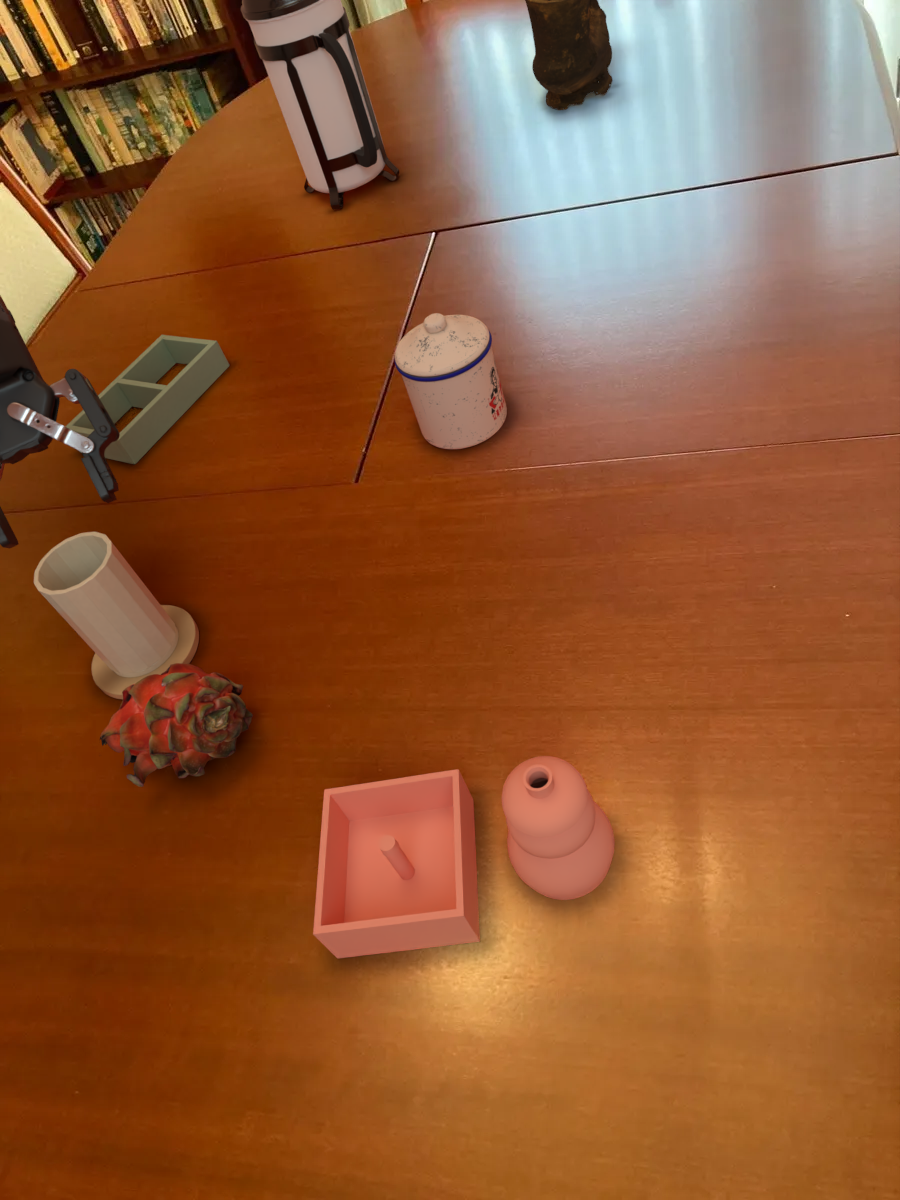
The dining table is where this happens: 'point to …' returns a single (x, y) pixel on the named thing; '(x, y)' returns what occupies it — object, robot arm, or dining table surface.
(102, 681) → the coaster
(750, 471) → the dining table surface
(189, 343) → the divided rectangular holder
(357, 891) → the pottery
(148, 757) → the dragon fruit
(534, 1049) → the dining table surface
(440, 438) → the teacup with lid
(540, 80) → the pottery vessel
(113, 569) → the cup
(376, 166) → the coffee press
